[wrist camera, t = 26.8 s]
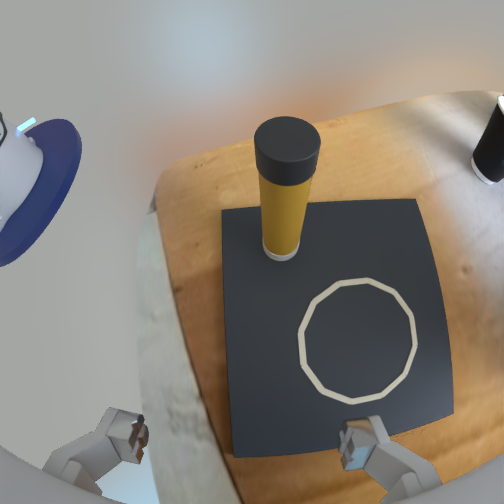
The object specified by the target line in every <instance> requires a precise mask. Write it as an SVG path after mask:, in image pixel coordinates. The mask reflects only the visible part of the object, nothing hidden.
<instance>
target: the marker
mask: <svg viewBox="0 0 504 504" xmlns="http://www.w3.org/2000/svg"><path fill="white" fill-rule="evenodd" d="M254 144H255V156H256V166H257V169H258V171H259V185H260V199H261V214H262V230H263V249H264V251H265V253H266V254H267V255H268V256H269V257H270V258H271V259H273V260H276V261H286V260H289V259H291V258H292V257H293V256H294V255H295V254H296V253H297V251H298V247H299V243H300V235H301V230H302V226H303V221H304V216H305V211H306V206H307V202H308V197H309V192H310V186H311V181H312V176H313V174H314V172H315V170H316V165H317V160H318V155H319V149H320V144H321V140H320V136H319V133H318V132H317V130H316V129H315V128H314V127H313V126H312V125H311V124H309V123H308V122H306V121H304V120H302V119H299V118H295V117H287V116H284V117H276V118H272V119H270V120H267V121H265V122H264V123H262V124H261V125H260V127H258V129H257V130H256V132H255V136H254Z"/></svg>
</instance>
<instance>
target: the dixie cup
mask: <svg viewBox="0 0 504 504" xmlns="http://www.w3.org/2000/svg"><path fill="white" fill-rule="evenodd" d="M497 102H498V103H497V105H496V107H495V109H494V112H493V114H492V116H491V118H490V120H489V123H488V125H487V127H486V129H485V131H484V133H483V135H482V137H481V139H480V141H479V143H478V145H477V147H476V148H475V150H474V152H473V157H472V159H471V165H472V168H473V170H474V172H475V173H476V175H477V176H478V177H479V178H480V179H481V180H482V181H483V182H485V183H487V184H489V185H492V184H494V183H495V182H499V181H500V180H501V179H503V178H504V96H498V98H497Z"/></svg>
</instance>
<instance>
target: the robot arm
mask: <svg viewBox="0 0 504 504" xmlns="http://www.w3.org/2000/svg"><path fill="white" fill-rule="evenodd" d="M34 122H35V119H34V118H32V119H30V120H29V121H27V122H25V123H24V124H22V125H21V126H19V127H18V128H17V127H16V126H15V125H14V124H13V123H12V122H10V120H9V119H3V118H2V113H1V112H0V232H1V230H2V229H3V227H4V225H5V223H6V222H7V220H8V219H9V217H10V216H11V215H12V214H13V213H14V212H15V211H16V210H17V209H18V207H19V206H20V205H21V204H22V203H23V201H24V200H25V198H26V197H27V195H28V194H29V192H30V191H31V189H32V187H33V186H34V184H35V182H36V180H37V178H38V175H39V173H40V170H41V167H42V163H43V152H42V150H41V149H40V148H38V147H37V146H36V143H35V140H34V139H33V138H32V137H29V138H27V137H26V136H25V135H24V134H23V133H22V132H21V130H23V129H25V128H26V127H28V126H29V125H31V124H33V123H34ZM144 420H145V419H144V417H143V415H141V414H137V413H132V412H128V411H124V410H119V409H115V408H111V407H109V408H108V409H107V410H106V412H105V414H104V416H103V417H102V419H101V421H100V423H99V425H98V426H97V428H96V430H95V432H90V433H88V434H86V435H84V436H82V437H80V438H78V439H76V440H74V441H72V442H70V443H68V444H66V445H64V446H62V447H60V448H58V449H56V450H54V451H53V452H52V454H51V455H50V457H49V459H48V460H47V462H46V464H45V466H44V467H43V469H42V470H40V469H39V468H37V467H35V466H33V465H31V464H29V463H28V462H26V461H24V460H22V459H21V458H19V457H17V456H16V455H14V454H12V453H11V452H9V451H8V450H6V449H5V448H3V447H2V446H0V504H125V503H122V502H118V501H115V500H112V499H109V498H106V497H103V496H101V495H102V491H101V489H100V488H99V487H98V485H97V484H96V483H95V481H97V480H98V479H100V478H101V477H102V476H103V475H105V474H106V473H107V472H109V471H110V470H111V469H113V468H114V467H115V466H117V465H118V464H119V463H120V462H122V461H126V462H130V463H135V464H140V463H141V459H142V457H143V454H144V453H143V450H142V448H144V447H145V446H147V443H148V437H149V432H148V428H147V426H146V425H145V424H144ZM341 426H342V430H341V431H340V432H339V434H338V437H337V446H338V451H339V452H340V453H341V454H343V456H342V458H341V462H342V466H343V470H344V471H349V470H356V469H362V468H363V470H364V471H365V472H367V473H368V474H369V475H370V476H371V477H372V478H373V479H374V480H376V481H377V482H378V483H379V484H380V485H381V486H383V487H384V488H385V489H386V490H387V491H388V493H387V494H386V495H385V497H384V498H383V499H382V500H381V501H380V503H381V504H504V454H500V455H498V456H496V457H495V458H493V459H491V460H490V461H488V462H486V463H484V464H483V465H481V466H479V467H477V468H475V469H474V470H472V471H470V472H468V473H466V474H464V475H462V476H460V477H458V478H456V479H453V480H451V481H449V482H447V483H445V484H442V482H441V480H440V478H439V476H438V474H437V472H436V470H435V468H434V466H433V464H432V463H430V462H428V461H427V460H425V459H423V458H421V457H420V456H418V455H416V454H415V453H413V452H411V451H410V450H408V449H406V448H405V447H403V446H401V445H400V444H398V443H397V442H395V441H392V442H391V440H390V438H389V436H388V433H387V431H386V429H385V427H384V425H383V422H382V420H381V418H380V416H378V415H375V416H369V417H362V418H355V419H349V420H344V421H343V423H342V425H341ZM121 460H122V461H121Z"/></svg>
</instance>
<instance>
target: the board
mask: <svg viewBox="0 0 504 504" xmlns="http://www.w3.org/2000/svg"><path fill="white" fill-rule="evenodd" d="M222 258H223V289H224V315H225V336H226V356H227V373H228V389H229V404H230V418H231V431H232V443H233V455H234V458H242V457H268V456H282V455H292V454H301V453H309V452H317V451H323V450H329V449H335V448H338V446H337V437H338V434H339V432H340V431H341V430H342V426H341V425H342V423H343V421H344V420H349V419H355V418H362V417H369V416H375V415H378V416H380V418H381V420H382V422H383V425H384V427H385V429H386V431H387V433H388V436H391V435H395V434H398V433H401V432H405V431H408V430H411V429H414V428H417V427H420V426H423V425H425V424H428V423H431V422H433V421H436V420H439V419H441V418H444V417H446V416H449V415H451V414H453V413H454V403H453V376H452V362H451V351H450V342H449V334H448V327H447V320H446V314H445V308H444V303H443V297H442V292H441V287H440V283H439V278H438V274H437V269H436V265H435V261H434V257H433V253H432V250H431V246H430V242H429V239H428V235H427V232H426V229H425V226H424V222H423V219H422V216H421V213H420V210H419V207H418V204H417V201H416V199H383V200H355V201H334V202H316V203H307V206H306V211H305V216H304V221H303V226H302V230H301V235H300V243H299V247H298V251H297V253H296V254H295V255H294V256H293V257H292V258H291V259H289V260H286V261H276V260H273V259H271V258H270V257H269V256H268V255H267V254H266V253H265V251H264V249H263V230H262V214H261V206H259V207H248V208H236V209H226V210H222Z"/></svg>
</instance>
